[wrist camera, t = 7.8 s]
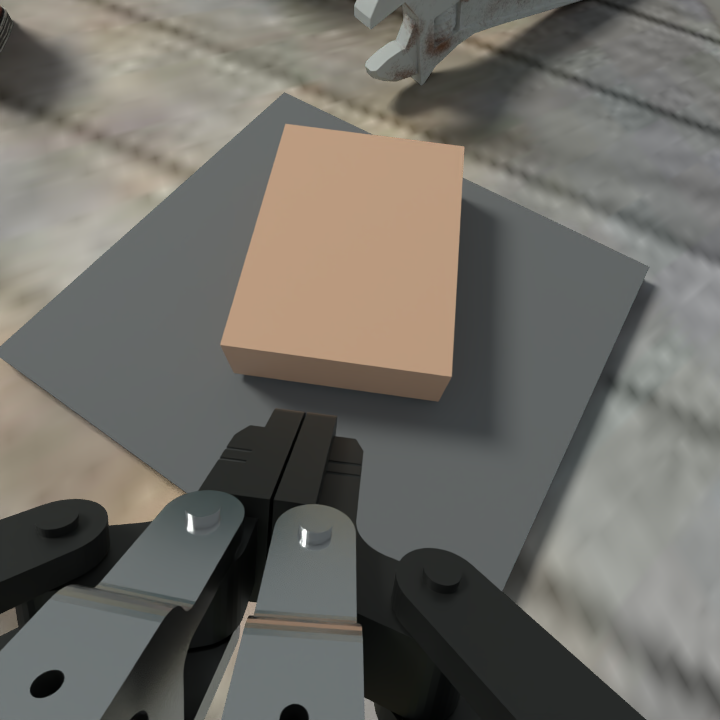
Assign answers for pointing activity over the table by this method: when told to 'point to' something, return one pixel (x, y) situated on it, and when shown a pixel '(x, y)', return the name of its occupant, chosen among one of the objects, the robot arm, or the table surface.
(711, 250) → the table surface
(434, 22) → the wrench
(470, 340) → the mat
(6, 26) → the lighter
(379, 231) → the tan rectangular block
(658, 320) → the table surface
